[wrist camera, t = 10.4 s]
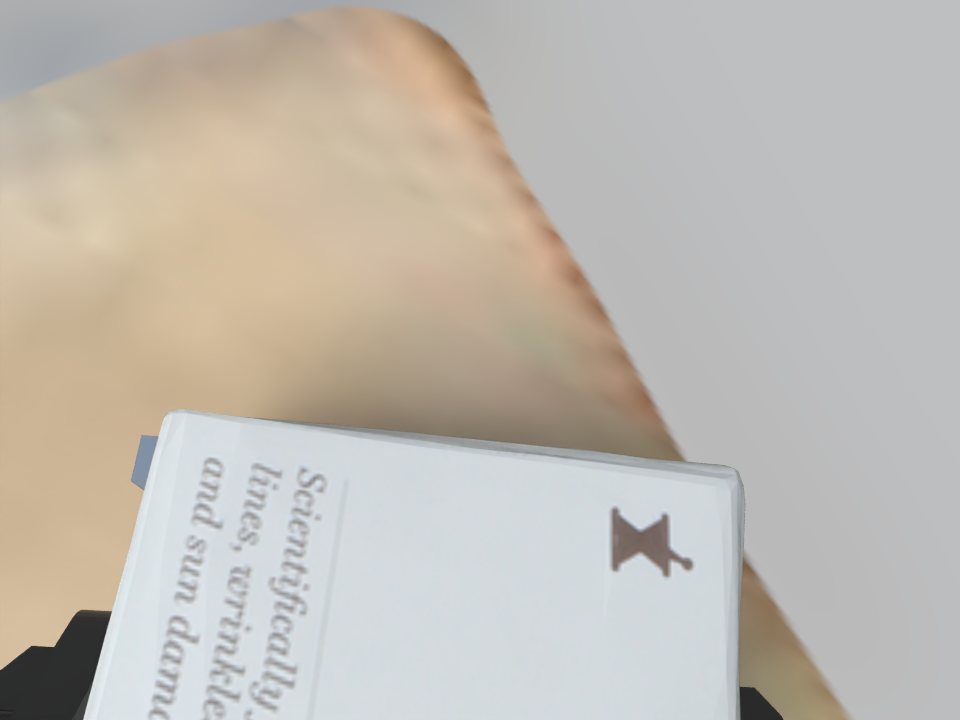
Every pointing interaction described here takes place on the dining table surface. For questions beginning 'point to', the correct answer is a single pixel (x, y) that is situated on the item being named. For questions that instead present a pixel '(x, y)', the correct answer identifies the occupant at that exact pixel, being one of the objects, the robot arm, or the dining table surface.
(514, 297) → the dining table surface
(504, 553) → the skincare box
